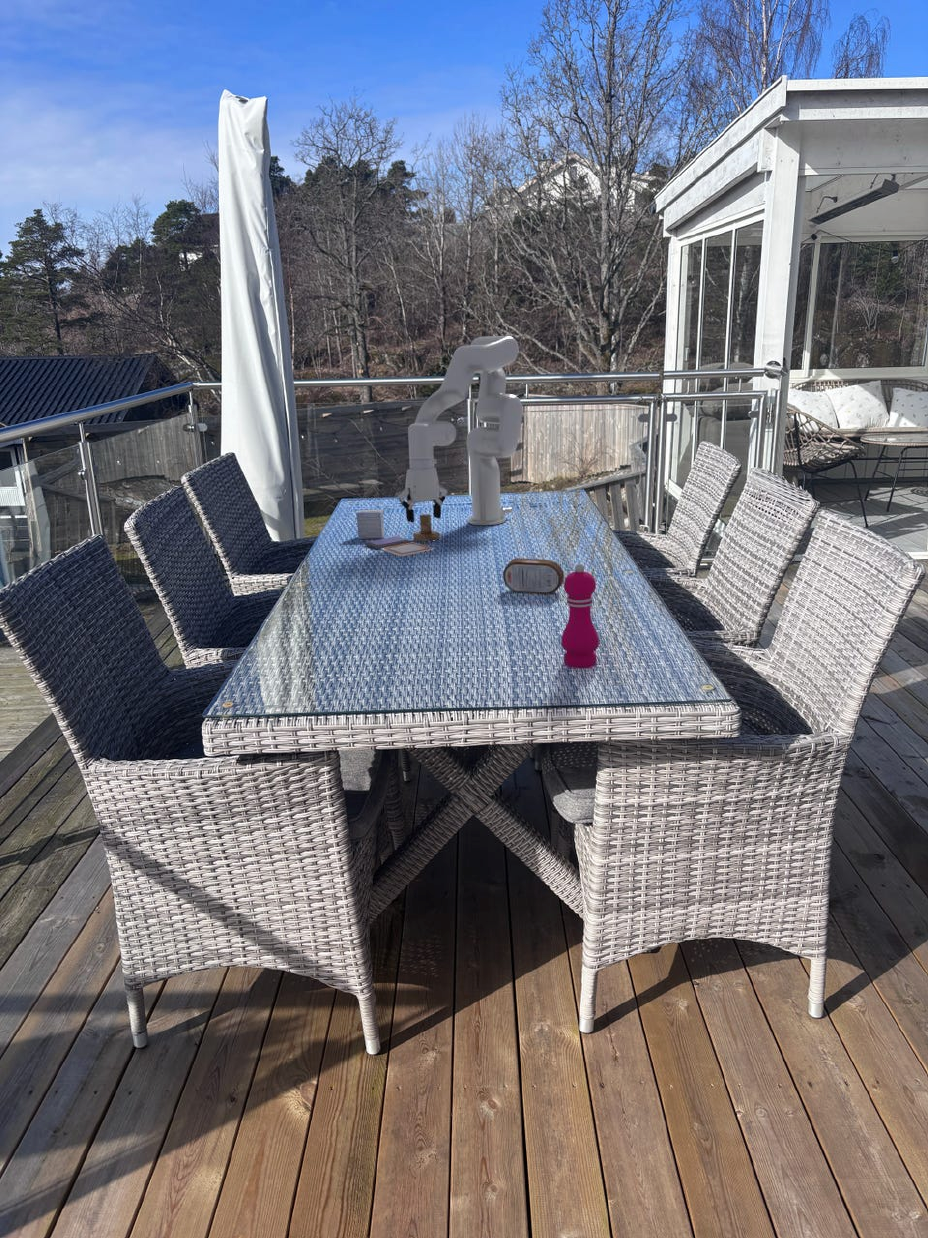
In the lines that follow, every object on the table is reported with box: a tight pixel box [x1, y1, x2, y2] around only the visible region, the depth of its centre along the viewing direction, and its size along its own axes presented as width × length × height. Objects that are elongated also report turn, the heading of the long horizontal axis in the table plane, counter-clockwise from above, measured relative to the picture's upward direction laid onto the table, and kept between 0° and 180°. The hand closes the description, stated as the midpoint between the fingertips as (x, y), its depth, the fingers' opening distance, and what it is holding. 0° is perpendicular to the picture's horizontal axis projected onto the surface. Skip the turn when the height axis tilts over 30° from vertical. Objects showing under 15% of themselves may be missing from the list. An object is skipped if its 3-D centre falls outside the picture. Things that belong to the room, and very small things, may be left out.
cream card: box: [380, 541, 435, 558], centre depth 269 cm, size 12×12×1 cm
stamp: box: [412, 513, 441, 544], centre depth 279 cm, size 6×6×8 cm
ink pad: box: [364, 535, 412, 551], centre depth 277 cm, size 12×8×1 cm, turn 124°
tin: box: [502, 557, 565, 595], centre depth 219 cm, size 15×3×8 cm, turn 71°
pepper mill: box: [560, 563, 600, 669], centre depth 171 cm, size 7×7×20 cm
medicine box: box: [355, 509, 386, 540], centre depth 286 cm, size 8×4×9 cm, turn 84°
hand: (424, 519), depth 278 cm, fingers open, 9 cm apart
